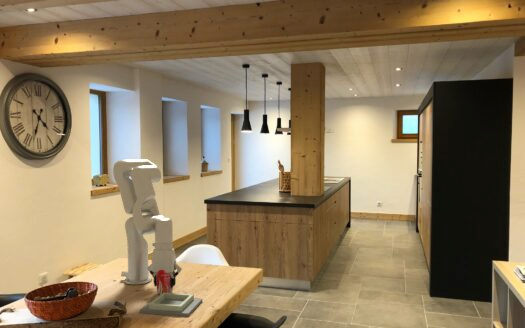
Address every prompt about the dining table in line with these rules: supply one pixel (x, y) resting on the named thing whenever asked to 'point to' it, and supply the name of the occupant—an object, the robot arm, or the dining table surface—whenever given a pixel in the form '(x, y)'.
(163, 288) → the soda can
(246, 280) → the dining table surface
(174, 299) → the holder board
